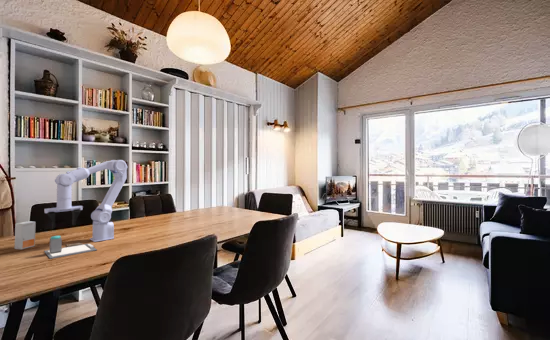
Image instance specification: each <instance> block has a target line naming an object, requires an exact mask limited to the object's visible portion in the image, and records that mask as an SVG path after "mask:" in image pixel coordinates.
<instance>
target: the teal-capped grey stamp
mask: <svg viewBox="0 0 550 340" xmlns="http://www.w3.org/2000/svg"><path fill="white" fill-rule="evenodd" d="M62 241H63V238H62V236H61V235H52V236H50V238H49V250H50V253H51V254H53V253H59V252H61V251H62V248H63V245H62V243H63V242H62Z"/></svg>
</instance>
